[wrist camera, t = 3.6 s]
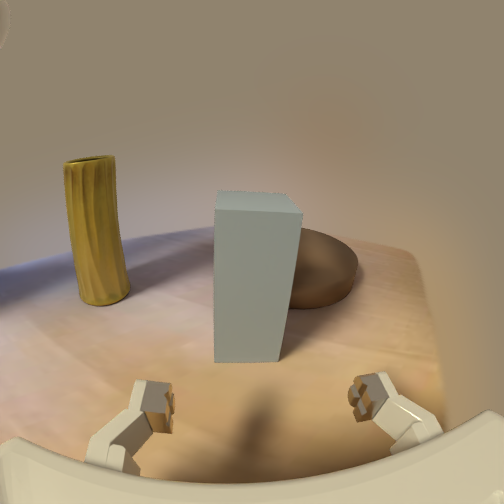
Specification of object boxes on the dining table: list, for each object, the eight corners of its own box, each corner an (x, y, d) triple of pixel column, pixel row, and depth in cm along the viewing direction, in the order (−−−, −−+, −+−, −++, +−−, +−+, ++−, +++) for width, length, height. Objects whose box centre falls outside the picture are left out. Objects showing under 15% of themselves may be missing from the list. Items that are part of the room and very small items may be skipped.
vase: (136, 278, 30) (127, 153, 24) (122, 308, 25) (104, 160, 19) (91, 276, 29) (76, 157, 23) (72, 304, 24) (47, 166, 18)
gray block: (214, 362, 20) (214, 209, 15) (215, 322, 24) (217, 190, 19) (278, 361, 20) (303, 213, 16) (269, 322, 25) (285, 193, 20)
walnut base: (206, 299, 28) (206, 273, 26) (231, 238, 43) (232, 220, 42) (367, 313, 27) (375, 289, 26) (338, 249, 42) (341, 231, 41)
